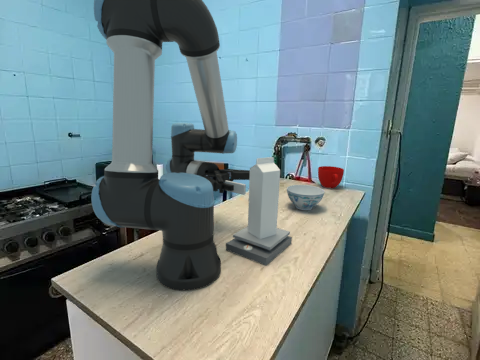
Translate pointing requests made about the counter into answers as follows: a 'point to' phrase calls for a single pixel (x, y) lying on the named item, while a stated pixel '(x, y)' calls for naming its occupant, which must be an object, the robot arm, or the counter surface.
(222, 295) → the counter surface
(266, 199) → the milk
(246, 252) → the kitchen scale
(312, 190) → the chinaware
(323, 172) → the ceramic cup
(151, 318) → the counter surface
